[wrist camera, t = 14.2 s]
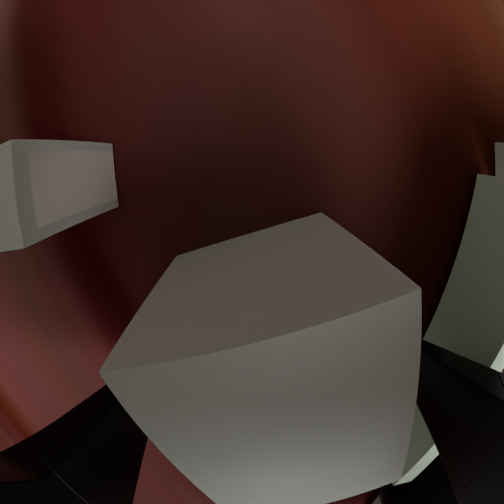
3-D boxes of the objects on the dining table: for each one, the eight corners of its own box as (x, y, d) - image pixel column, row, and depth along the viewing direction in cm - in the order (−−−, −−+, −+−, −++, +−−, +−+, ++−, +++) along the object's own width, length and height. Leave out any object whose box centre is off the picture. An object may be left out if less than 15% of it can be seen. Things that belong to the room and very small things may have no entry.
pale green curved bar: (461, 165, 8) (541, 177, 4) (492, 182, 8) (564, 199, 4) (354, 428, 11) (375, 489, 8) (387, 425, 11) (411, 481, 8)
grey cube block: (350, 361, 10) (401, 478, 5) (237, 392, 11) (233, 517, 5) (320, 212, 9) (420, 288, 3) (176, 255, 9) (98, 372, 4)
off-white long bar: (542, 196, 8) (607, 217, 4) (38, 220, 8) (-52, 259, 4) (543, 156, 8) (608, 169, 3) (31, 166, 8) (-64, 182, 3)
